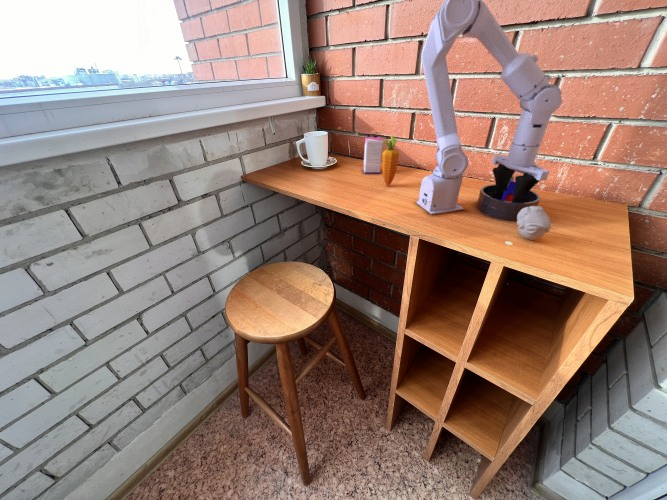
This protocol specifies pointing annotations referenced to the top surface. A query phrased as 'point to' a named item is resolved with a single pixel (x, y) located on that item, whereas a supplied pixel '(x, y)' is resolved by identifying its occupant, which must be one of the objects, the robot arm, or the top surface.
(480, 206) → the pot
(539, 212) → the frog figurine
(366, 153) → the supplement box
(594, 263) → the top surface
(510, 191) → the small bottle
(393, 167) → the carrot
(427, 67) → the robot arm
